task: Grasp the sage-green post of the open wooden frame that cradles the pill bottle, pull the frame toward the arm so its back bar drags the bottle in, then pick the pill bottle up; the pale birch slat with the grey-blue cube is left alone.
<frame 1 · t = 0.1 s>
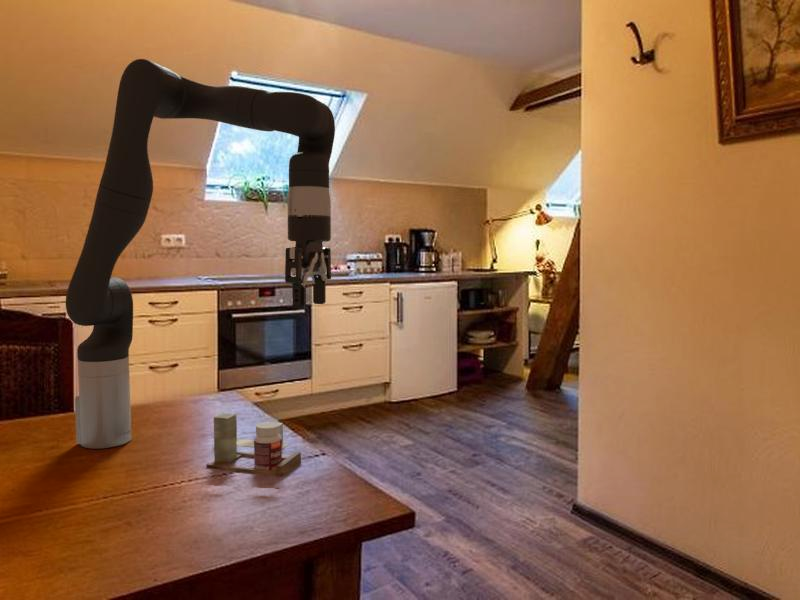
hand: (309, 306, 107), 29 cm above the table, fingers open, 8 cm apart
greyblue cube: (269, 445, 117), point 1 cm above the table, touching birch slat
open wooden frame: (254, 443, 107), point 5 cm above the table, slide at 0.0 cm
pill bottle: (268, 472, 107), resting in open wooden frame
birch slat: (251, 448, 119), on the table
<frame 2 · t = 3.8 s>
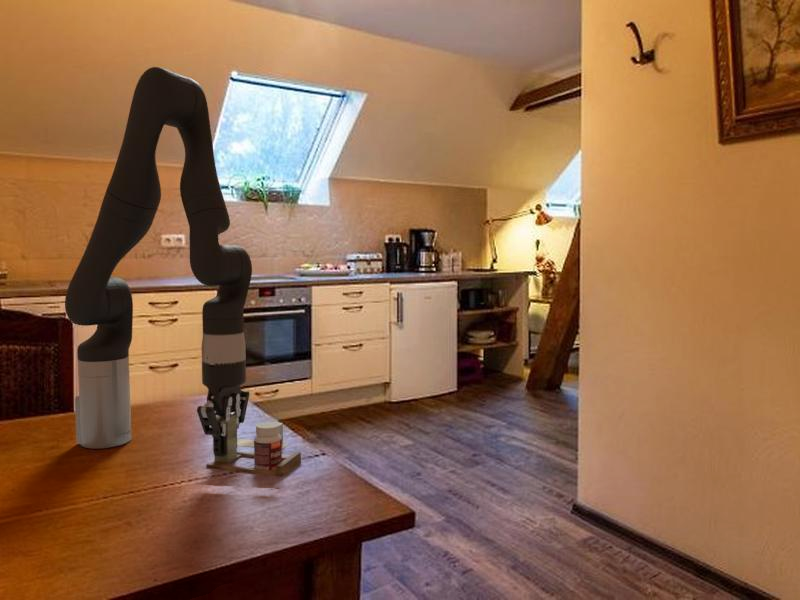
hand: (225, 452, 109), 3 cm above the table, fingers closed on open wooden frame, 3 cm apart
open wooden frame: (254, 443, 107), point 5 cm above the table, slide at 0.0 cm, touching gripper
everything else where it was.
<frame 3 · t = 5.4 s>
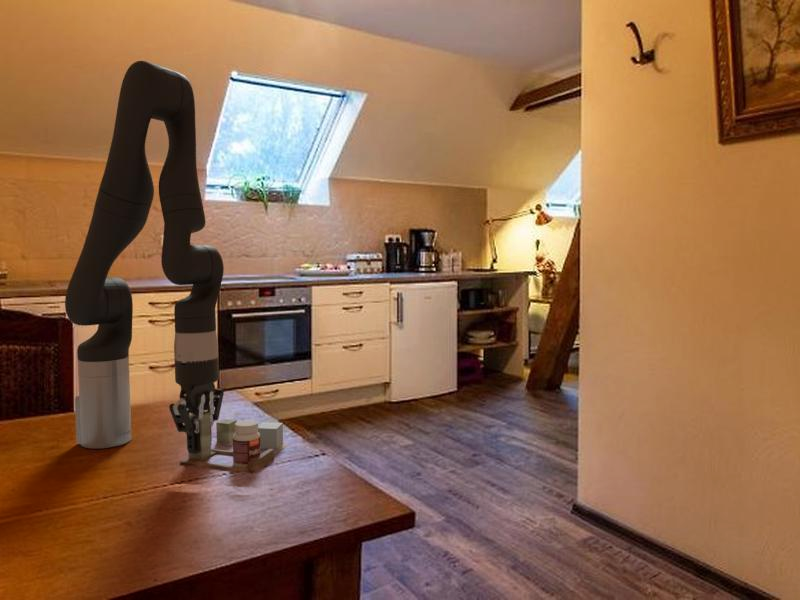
hand: (199, 449, 110), 3 cm above the table, fingers closed on open wooden frame, 3 cm apart
open wooden frame: (227, 440, 108), point 5 cm above the table, slide at 5.3 cm, touching gripper, pill bottle
pill bottle: (247, 470, 108), resting in open wooden frame
everything else where it was.
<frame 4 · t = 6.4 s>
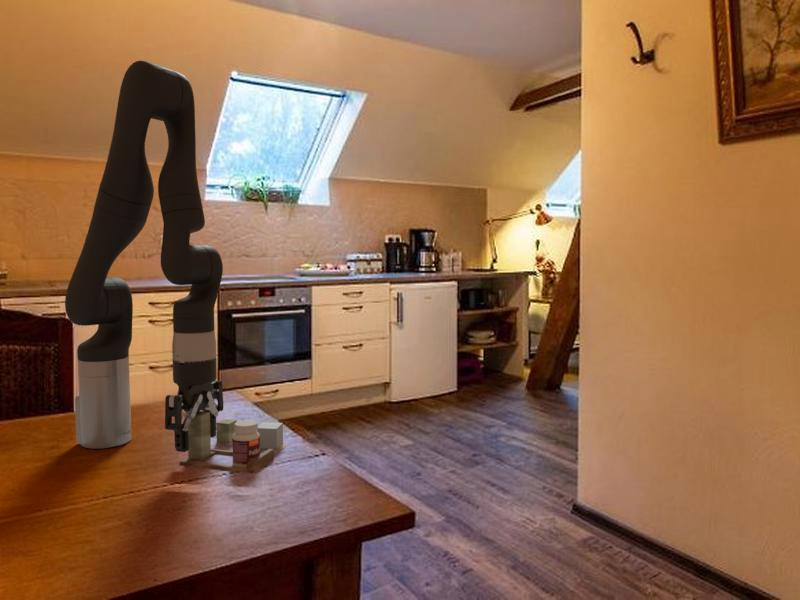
hand: (196, 443, 110), 4 cm above the table, fingers open, 8 cm apart
open wooden frame: (227, 440, 108), point 5 cm above the table, slide at 5.4 cm
pill bottle: (246, 470, 108), resting in open wooden frame
everything else where it was.
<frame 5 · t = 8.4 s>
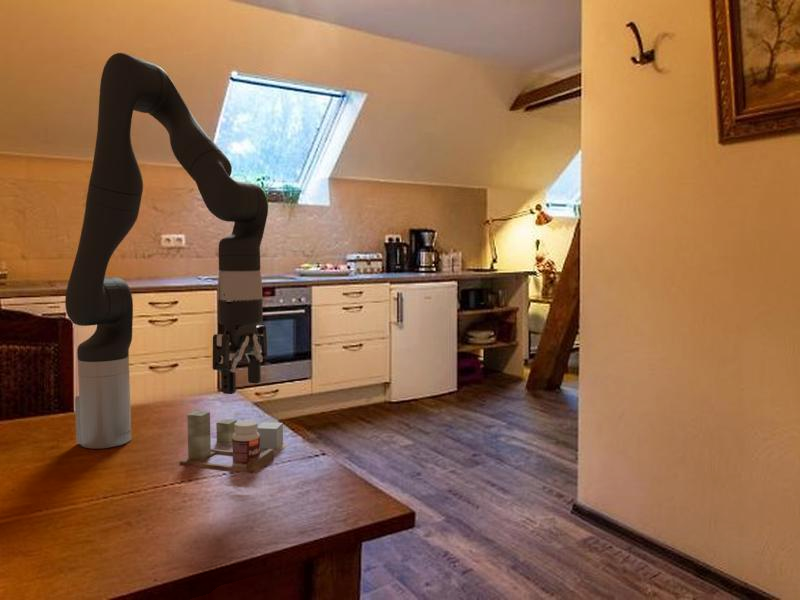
hand: (242, 388, 107), 15 cm above the table, fingers open, 8 cm apart
nothing on the table moved.
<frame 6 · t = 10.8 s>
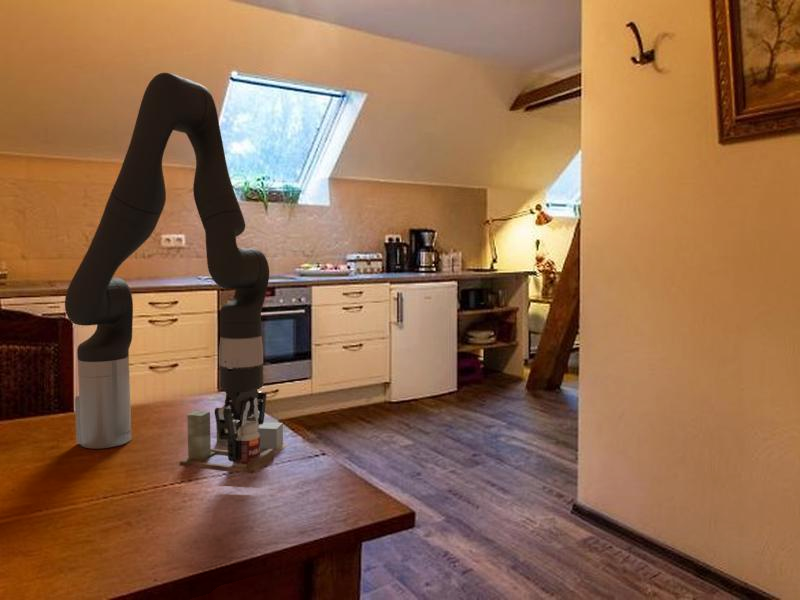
hand: (242, 455, 108), 2 cm above the table, fingers closed on pill bottle, 4 cm apart
pill bottle: (246, 469, 108), resting in open wooden frame, touching gripper
everything else where it was.
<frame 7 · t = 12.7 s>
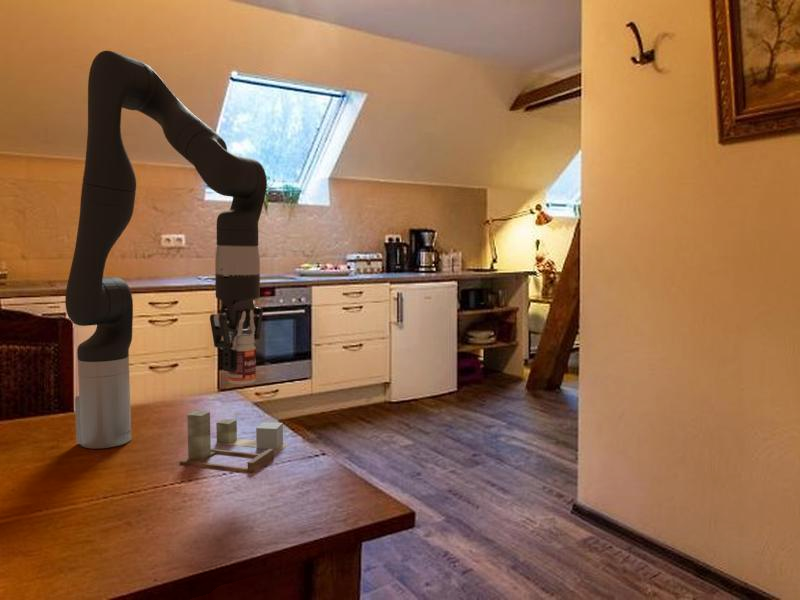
hand: (238, 367, 107), 18 cm above the table, fingers closed on pill bottle, 4 cm apart
pill bottle: (242, 382, 107), point 16 cm above the table, touching gripper
everything else where it was.
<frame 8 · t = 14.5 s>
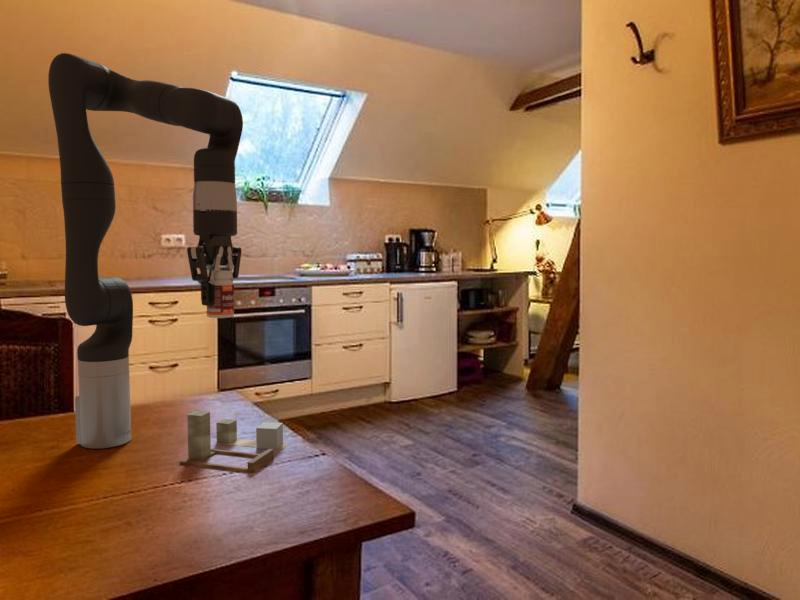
hand: (216, 303, 109), 29 cm above the table, fingers closed on pill bottle, 4 cm apart
pill bottle: (220, 317, 109), point 27 cm above the table, touching gripper
everything else where it was.
at the end: open wooden frame slide at 5.4 cm; pill bottle point 26.6 cm above the table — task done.
